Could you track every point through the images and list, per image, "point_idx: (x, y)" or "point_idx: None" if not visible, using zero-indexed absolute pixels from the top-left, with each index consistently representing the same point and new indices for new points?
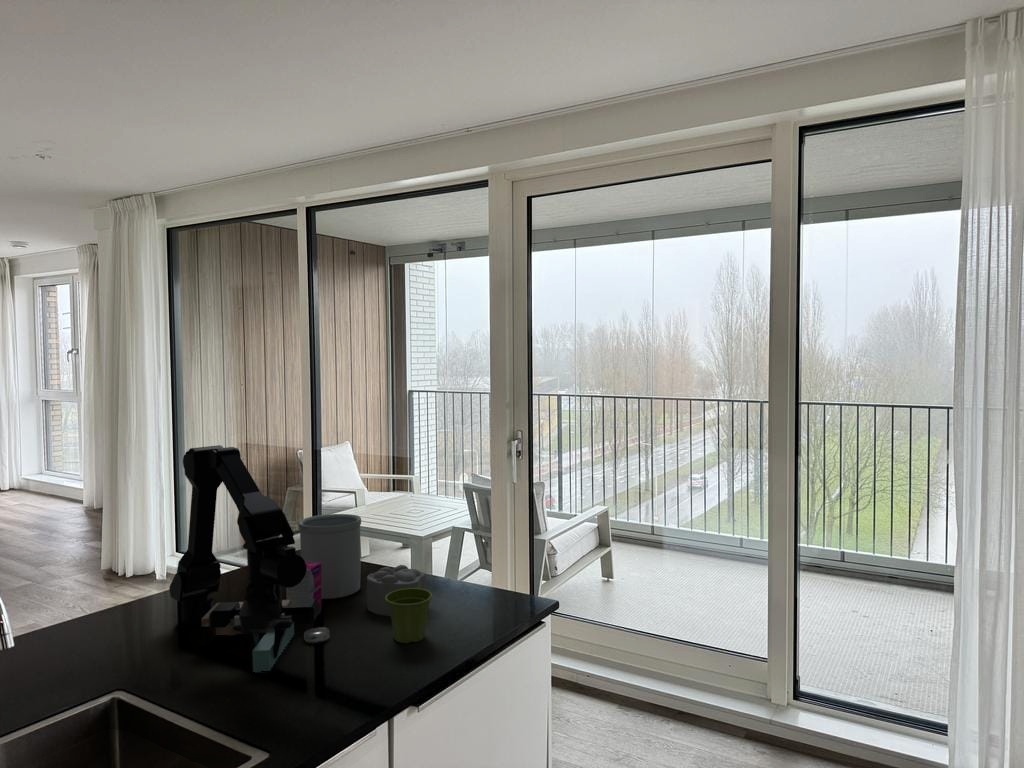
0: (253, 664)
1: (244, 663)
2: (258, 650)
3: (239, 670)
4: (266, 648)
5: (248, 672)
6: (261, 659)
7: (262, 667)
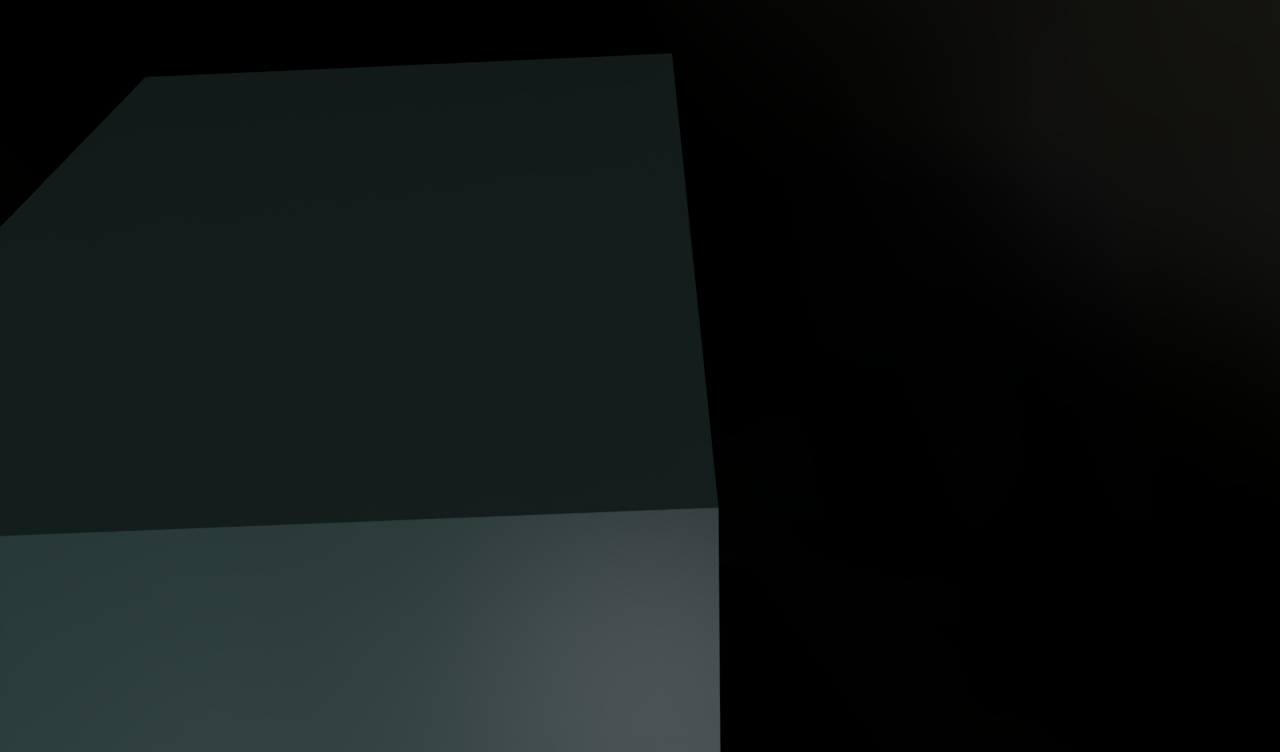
0: (654, 159)
1: (1068, 577)
2: (343, 534)
3: (1130, 230)
4: (14, 722)
5: (829, 93)
6: (293, 252)
7: (339, 123)
